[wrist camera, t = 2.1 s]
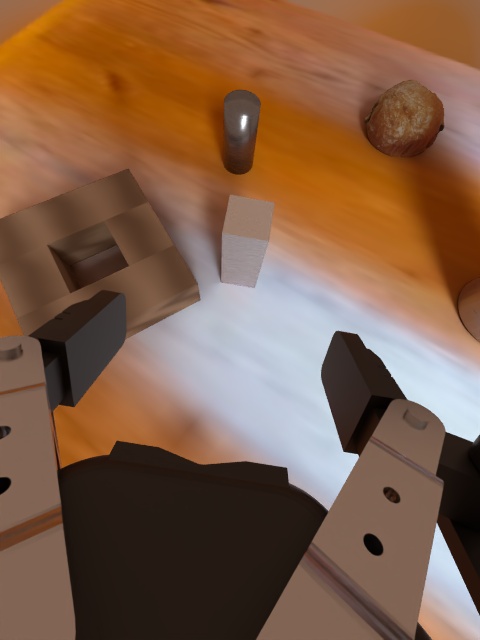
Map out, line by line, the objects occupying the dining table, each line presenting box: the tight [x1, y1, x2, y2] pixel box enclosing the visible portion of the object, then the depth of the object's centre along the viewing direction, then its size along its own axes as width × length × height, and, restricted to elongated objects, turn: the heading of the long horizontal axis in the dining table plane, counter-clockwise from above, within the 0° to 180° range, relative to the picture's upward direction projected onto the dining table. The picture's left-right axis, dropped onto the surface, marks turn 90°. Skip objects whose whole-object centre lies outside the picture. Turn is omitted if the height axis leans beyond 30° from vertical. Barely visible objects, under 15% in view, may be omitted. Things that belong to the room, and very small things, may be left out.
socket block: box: [0, 169, 200, 339], centre depth 31 cm, size 16×16×4 cm
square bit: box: [221, 195, 274, 288], centre depth 30 cm, size 4×4×10 cm
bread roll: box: [365, 80, 444, 157], centre depth 41 cm, size 10×10×8 cm
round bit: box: [223, 90, 261, 174], centre depth 35 cm, size 4×4×8 cm
